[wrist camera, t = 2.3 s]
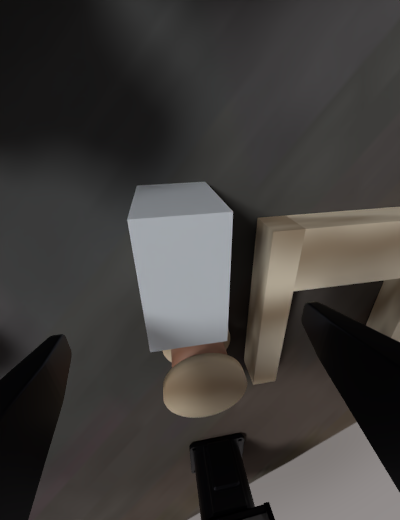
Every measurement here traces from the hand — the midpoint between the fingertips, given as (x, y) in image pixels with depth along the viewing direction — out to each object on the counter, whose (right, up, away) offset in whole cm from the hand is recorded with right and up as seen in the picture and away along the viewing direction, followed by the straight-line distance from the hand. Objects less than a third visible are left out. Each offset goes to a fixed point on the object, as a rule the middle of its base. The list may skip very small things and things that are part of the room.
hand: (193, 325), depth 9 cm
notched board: (+11, 0, +11) cm, 16 cm away
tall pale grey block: (-1, +4, +7) cm, 8 cm away
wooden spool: (0, -4, +11) cm, 12 cm away
